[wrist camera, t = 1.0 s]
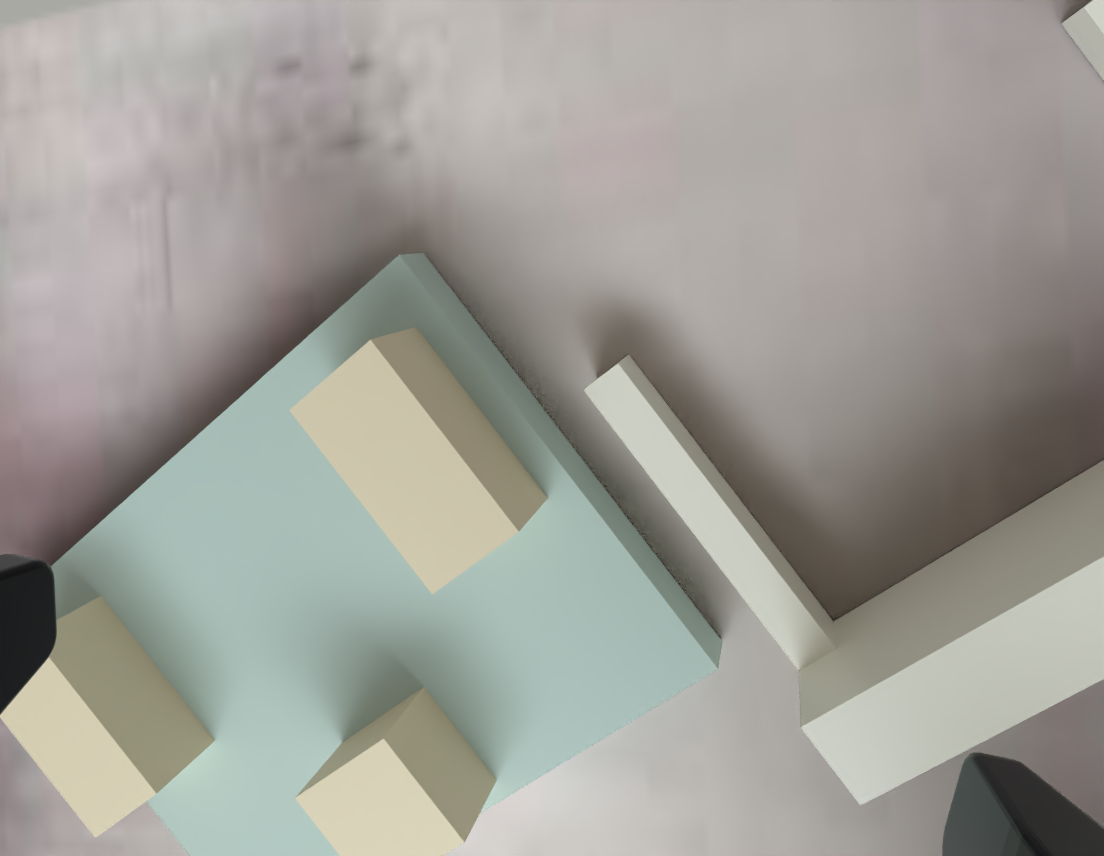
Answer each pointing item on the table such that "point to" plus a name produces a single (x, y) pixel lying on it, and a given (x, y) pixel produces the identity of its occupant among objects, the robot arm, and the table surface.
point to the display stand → (355, 604)
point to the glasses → (904, 597)
